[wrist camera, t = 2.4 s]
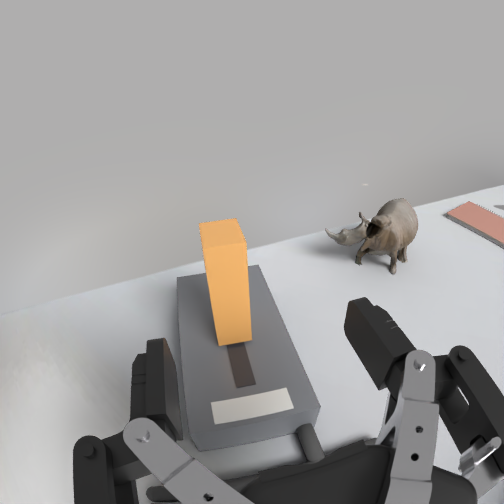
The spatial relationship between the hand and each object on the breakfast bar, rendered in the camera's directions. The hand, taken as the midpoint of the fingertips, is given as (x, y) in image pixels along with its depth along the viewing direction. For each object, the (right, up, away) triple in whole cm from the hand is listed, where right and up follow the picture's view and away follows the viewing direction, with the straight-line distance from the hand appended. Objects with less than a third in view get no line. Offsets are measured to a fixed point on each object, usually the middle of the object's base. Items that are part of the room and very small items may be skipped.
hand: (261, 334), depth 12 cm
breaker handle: (-2, -4, +15) cm, 16 cm away
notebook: (+57, +7, +37) cm, 68 cm away
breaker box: (-2, -7, +17) cm, 19 cm away
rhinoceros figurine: (+19, +2, +31) cm, 37 cm away
